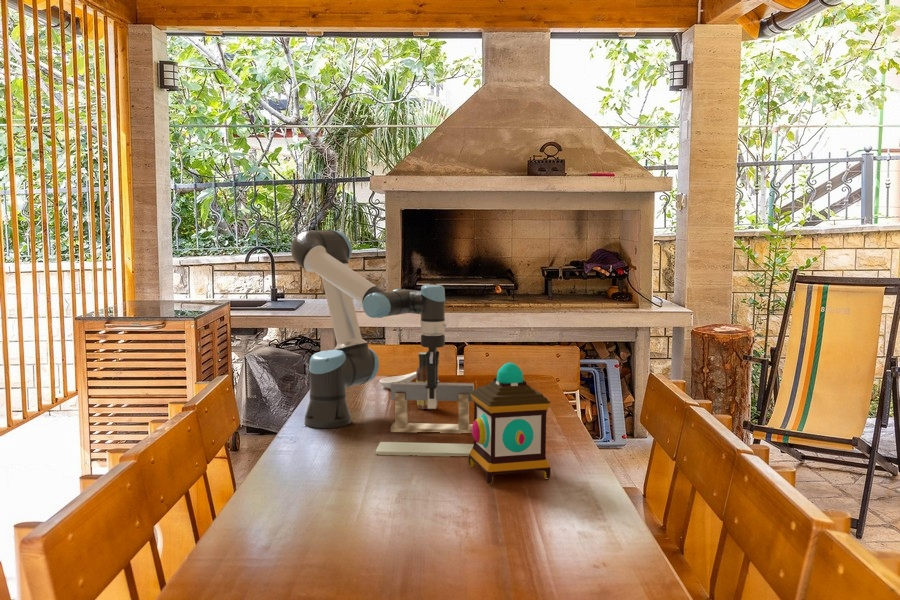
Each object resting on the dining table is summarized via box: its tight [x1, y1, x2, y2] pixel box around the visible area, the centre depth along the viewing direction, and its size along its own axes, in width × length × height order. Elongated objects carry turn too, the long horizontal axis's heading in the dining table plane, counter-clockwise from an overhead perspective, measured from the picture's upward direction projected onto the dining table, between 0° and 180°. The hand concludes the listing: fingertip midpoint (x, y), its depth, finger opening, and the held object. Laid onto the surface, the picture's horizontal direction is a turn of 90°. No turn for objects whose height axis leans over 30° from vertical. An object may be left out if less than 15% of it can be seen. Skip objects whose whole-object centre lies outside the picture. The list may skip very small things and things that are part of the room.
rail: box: [390, 381, 475, 402], centre depth 270 cm, size 26×4×5 cm, turn 86°
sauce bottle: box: [415, 351, 429, 410], centre depth 300 cm, size 7×6×20 cm
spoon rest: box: [379, 371, 440, 390], centre depth 335 cm, size 24×12×7 cm, turn 88°
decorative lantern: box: [468, 361, 551, 486], centre depth 225 cm, size 20×20×30 cm
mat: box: [374, 441, 474, 457], centre depth 247 cm, size 28×10×1 cm, turn 86°
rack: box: [390, 393, 473, 434], centre depth 270 cm, size 26×7×12 cm, turn 86°
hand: (432, 406), depth 270 cm, fingers closed on rail, 4 cm apart
